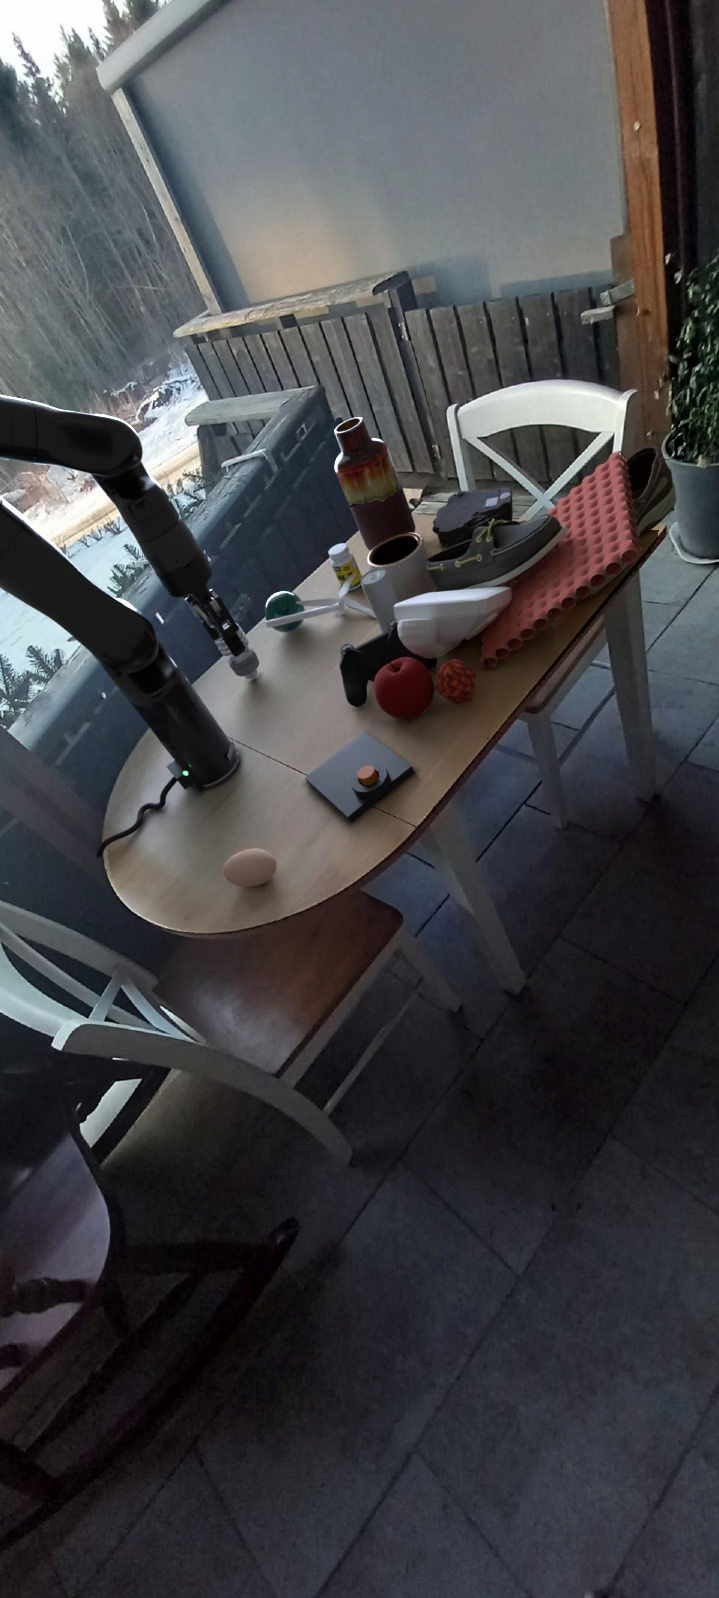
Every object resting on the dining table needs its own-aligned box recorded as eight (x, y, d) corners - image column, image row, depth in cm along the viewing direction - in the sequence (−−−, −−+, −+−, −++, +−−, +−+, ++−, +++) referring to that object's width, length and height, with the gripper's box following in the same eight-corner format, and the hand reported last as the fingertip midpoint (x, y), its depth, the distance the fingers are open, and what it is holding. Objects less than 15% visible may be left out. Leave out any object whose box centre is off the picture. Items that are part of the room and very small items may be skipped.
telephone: (434, 588, 129) (440, 642, 132) (376, 609, 114) (384, 670, 117) (521, 580, 120) (526, 638, 124) (471, 602, 105) (477, 667, 108)
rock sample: (462, 558, 143) (455, 535, 140) (419, 539, 155) (412, 518, 151) (533, 510, 145) (528, 486, 142) (486, 496, 157) (480, 473, 154)
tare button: (381, 777, 106) (377, 770, 105) (367, 788, 106) (363, 781, 105) (371, 769, 108) (367, 762, 107) (357, 780, 107) (353, 773, 106)
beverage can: (409, 621, 135) (387, 564, 127) (408, 637, 132) (385, 579, 124) (384, 628, 137) (361, 572, 129) (383, 644, 134) (358, 587, 126)
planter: (431, 606, 136) (414, 561, 129) (377, 614, 141) (359, 571, 134) (444, 572, 142) (429, 526, 136) (392, 581, 147) (375, 538, 141)
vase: (424, 548, 151) (380, 420, 134) (374, 570, 153) (323, 447, 135) (415, 526, 159) (371, 403, 142) (367, 547, 161) (318, 428, 144)
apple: (394, 737, 115) (371, 688, 108) (378, 706, 122) (356, 658, 115) (448, 710, 114) (429, 660, 108) (430, 681, 121) (410, 631, 114)
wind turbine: (256, 610, 147) (355, 586, 151) (279, 656, 138) (383, 629, 143) (254, 594, 144) (355, 570, 148) (277, 640, 135) (383, 613, 140)
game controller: (434, 663, 128) (409, 609, 126) (441, 665, 122) (415, 608, 119) (350, 706, 129) (323, 653, 127) (352, 711, 122) (324, 655, 120)
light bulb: (253, 666, 146) (224, 615, 138) (272, 670, 142) (242, 619, 134) (235, 685, 143) (203, 635, 135) (253, 689, 140) (222, 638, 132)
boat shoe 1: (557, 555, 108) (525, 504, 106) (429, 623, 131) (399, 583, 129) (588, 518, 114) (557, 469, 111) (459, 590, 137) (432, 550, 134)
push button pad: (418, 774, 108) (411, 760, 106) (353, 825, 105) (345, 812, 103) (367, 737, 118) (360, 723, 116) (308, 783, 115) (300, 770, 113)
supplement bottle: (339, 593, 152) (323, 557, 147) (346, 579, 155) (330, 544, 149) (360, 589, 150) (344, 553, 144) (366, 575, 153) (351, 539, 147)
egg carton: (642, 555, 99) (632, 545, 98) (488, 670, 117) (479, 663, 117) (626, 456, 117) (618, 447, 116) (495, 570, 135) (487, 563, 134)
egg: (265, 880, 99) (214, 889, 103) (286, 883, 104) (237, 892, 107) (262, 842, 101) (212, 852, 104) (283, 846, 105) (234, 856, 108)
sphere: (319, 615, 149) (302, 581, 143) (297, 641, 145) (279, 607, 140) (289, 615, 154) (272, 582, 148) (268, 640, 150) (249, 607, 145)
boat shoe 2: (580, 615, 118) (568, 547, 109) (519, 595, 127) (504, 531, 119) (711, 505, 125) (710, 434, 117) (645, 494, 134) (639, 427, 126)
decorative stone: (485, 709, 111) (470, 668, 106) (442, 720, 114) (425, 680, 108) (484, 683, 116) (469, 642, 111) (442, 694, 118) (426, 654, 113)
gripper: (138, 559, 112) (193, 645, 123) (170, 582, 102) (227, 673, 113) (179, 532, 113) (230, 619, 124) (214, 551, 103) (267, 644, 114)
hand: (229, 644), depth 118 cm, fingers open, 8 cm apart
